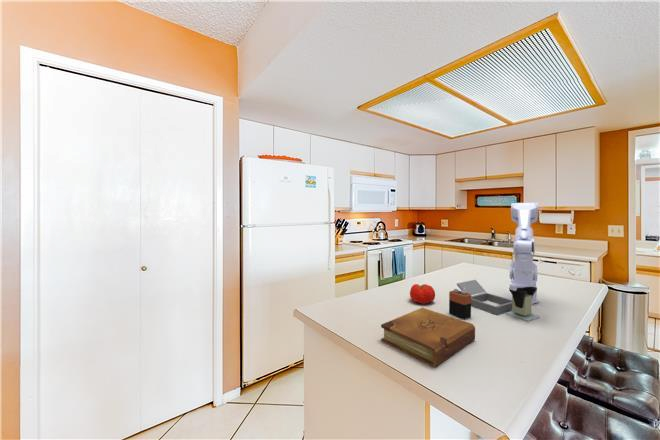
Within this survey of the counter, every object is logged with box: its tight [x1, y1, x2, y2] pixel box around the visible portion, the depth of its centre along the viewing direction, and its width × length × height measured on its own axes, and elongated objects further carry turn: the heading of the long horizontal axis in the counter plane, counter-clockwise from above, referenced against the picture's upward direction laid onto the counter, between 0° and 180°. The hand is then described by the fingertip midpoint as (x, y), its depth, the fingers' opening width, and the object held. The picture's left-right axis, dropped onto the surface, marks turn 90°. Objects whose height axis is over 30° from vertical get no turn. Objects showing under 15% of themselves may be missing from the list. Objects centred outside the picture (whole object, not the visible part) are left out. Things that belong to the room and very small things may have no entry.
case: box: [456, 279, 512, 316], centre depth 114 cm, size 14×18×8 cm
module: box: [511, 294, 533, 316], centre depth 102 cm, size 4×4×8 cm
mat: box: [505, 310, 541, 322], centre depth 102 cm, size 8×8×1 cm
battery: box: [448, 288, 472, 320], centre depth 102 cm, size 4×7×10 cm, turn 28°
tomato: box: [409, 283, 436, 305], centre depth 118 cm, size 11×11×8 cm
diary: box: [380, 307, 476, 368], centre depth 83 cm, size 23×19×6 cm
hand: (522, 306), depth 102 cm, fingers closed on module, 4 cm apart
